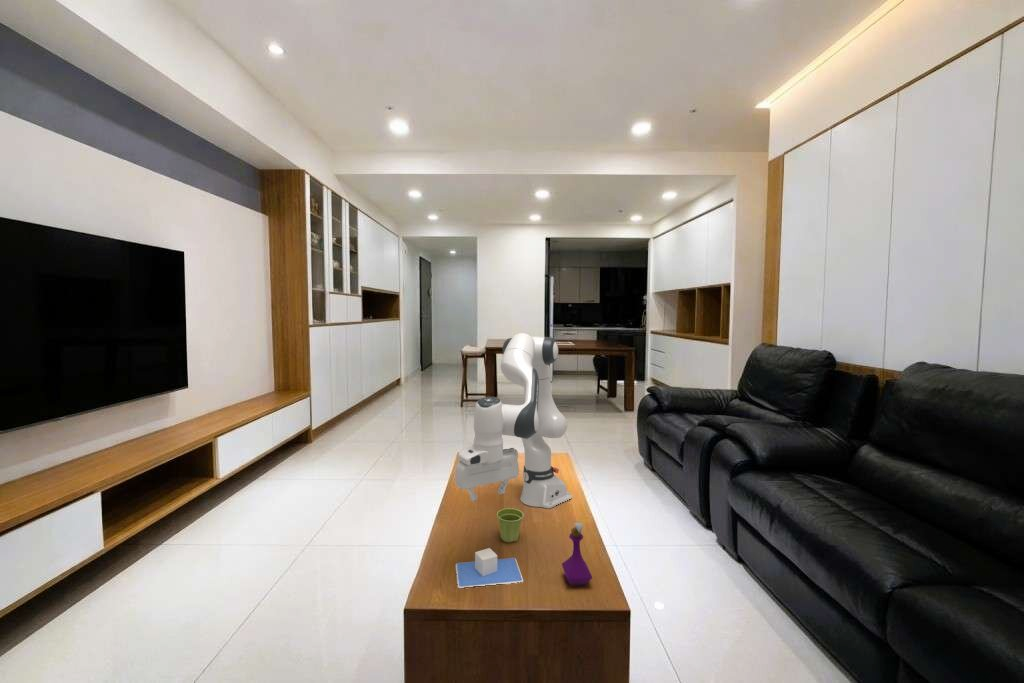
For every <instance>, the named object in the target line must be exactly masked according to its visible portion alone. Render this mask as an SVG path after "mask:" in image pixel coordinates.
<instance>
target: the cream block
mask: <svg viewBox="0 0 1024 683" xmlns="http://www.w3.org/2000/svg"><path fill="white" fill-rule="evenodd" d="M497 559H498V555H497V553H496V552H495V551H493V550H492V549H491V547H488V548H484V549H480V550H478V551H475V553H474V562H475V568H476V570H477V571H478V572H479V573H480V574H481V575H482V577H483V576H486V575H489V574H492V573H494V572H497Z"/></svg>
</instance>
